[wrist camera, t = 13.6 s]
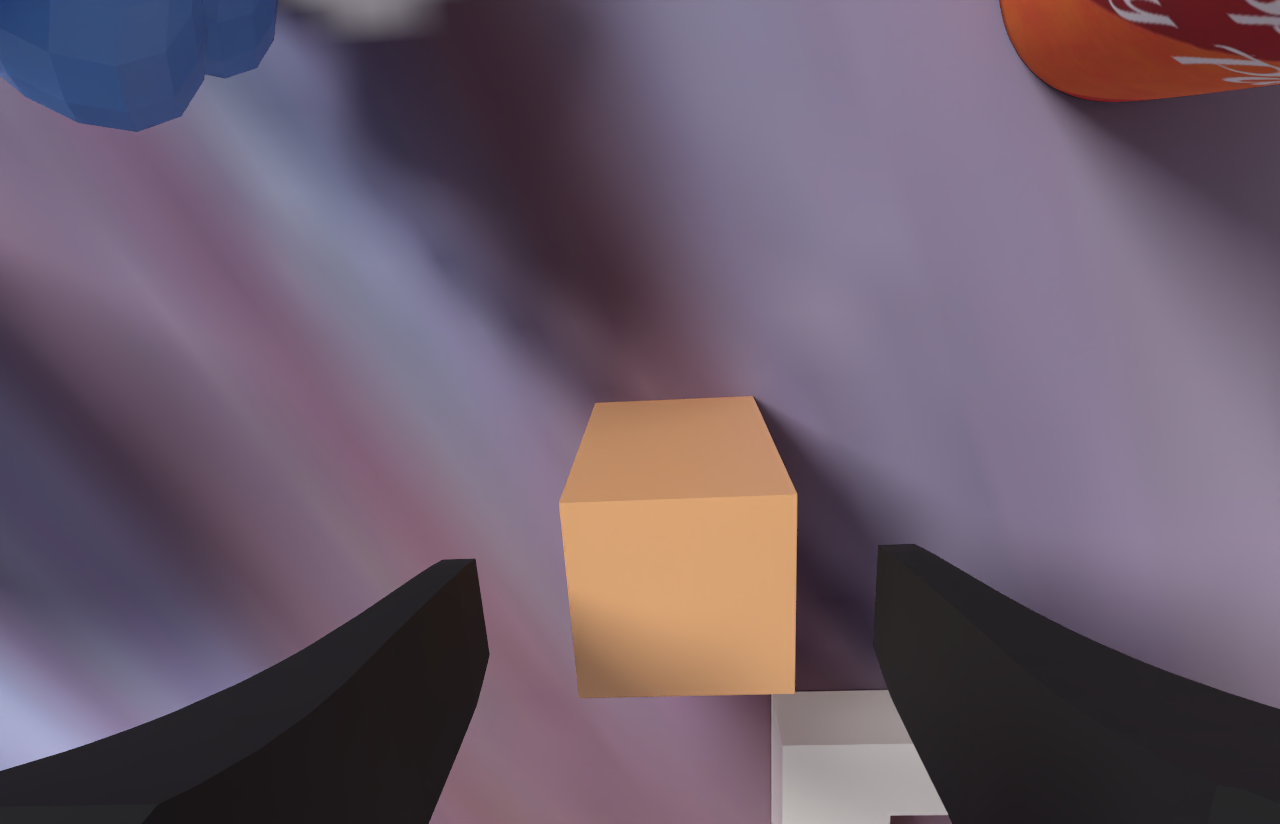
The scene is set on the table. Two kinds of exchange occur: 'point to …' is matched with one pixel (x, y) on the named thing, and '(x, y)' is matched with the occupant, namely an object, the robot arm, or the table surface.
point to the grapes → (128, 53)
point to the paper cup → (1146, 45)
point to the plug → (680, 552)
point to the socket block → (844, 760)
